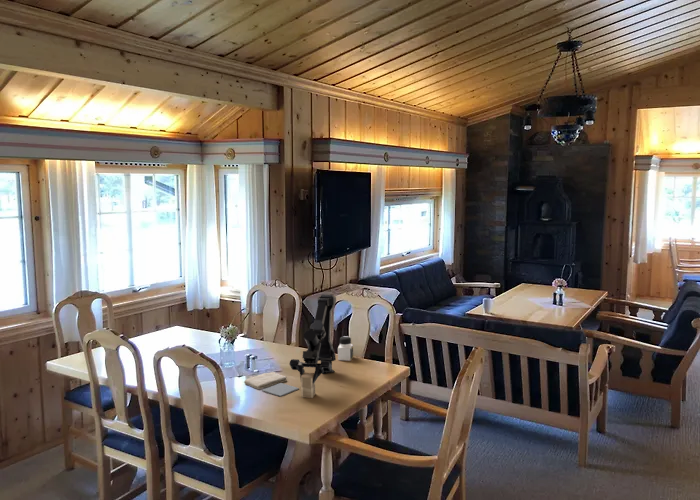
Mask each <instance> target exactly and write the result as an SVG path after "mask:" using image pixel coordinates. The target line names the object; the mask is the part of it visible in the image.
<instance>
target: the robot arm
mask: <svg viewBox="0 0 700 500" xmlns="http://www.w3.org/2000/svg"><path fill="white" fill-rule="evenodd" d="M336 303H337V297H336V296H335V295H334V294H321V296H318V297H317V307H316V313H315V317H314V321H313V323H311V324H310V326H309V329H308V330H306V331H305V332H304V334H303V339H304V341H305V343H306V345H307V350H303V351H302V359H303V361H304V362H302V361H300V359H297V358H296V359H295V358H291V360H289V366H290V368H291V370H293V371H298V372H299V376H300V379H301V376H302V375H303V373H306V372H305V369H304V368H314V369H315V370H314V372H313V373H314V377H313V383H314V382H315V383H316V381H317V379H318V378H319V377H320V376H321V374H323V375H326V374H331V373H335V370H333V362H335V361H336V353H335V350H334V346H333V344H332V342H331V327H332V326H331V325H332V311H334V309H335V306H336ZM318 361H320V363H318Z"/></svg>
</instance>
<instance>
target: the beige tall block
mask: <svg viewBox="0 0 700 500" xmlns="http://www.w3.org/2000/svg"><path fill="white" fill-rule="evenodd" d="M314 373H315V372H304V373H303V375H302V376H301V378H300V382H301V386H300V388H301V398H310V399H313V398H314V397H315V396H316V381H315V382H314V383H313V377H314Z"/></svg>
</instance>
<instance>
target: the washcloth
mask: <svg viewBox="0 0 700 500" xmlns="http://www.w3.org/2000/svg"><path fill="white" fill-rule="evenodd" d="M287 380H288V379H287V376H285V375H282V374H279V373H277V372H274V371H271V372H267V373H266V372H265V373H264V372H263V373H261V374H259V375H255V376H251V377H248V378H246V379H245V380H244V382H243V383H244V384H245V385H247V386H250V387H252V388H254V389H255V390H263V389H266V388H269V387H271V386H274V385H276V384H279V383H285V382H287Z"/></svg>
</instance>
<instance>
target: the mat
mask: <svg viewBox="0 0 700 500" xmlns="http://www.w3.org/2000/svg"><path fill="white" fill-rule="evenodd" d="M298 390H300V388H299V387H296V386H293V385H289V384H286V383H284V382H281V383H278V384H275V385H272V386H268V387H265V388H263V389H261V391H262V392H263V393H267V394H269V395H274V396H277V397H283V396H286V395H289V394H290V393H294V392H296V391H298Z"/></svg>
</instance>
